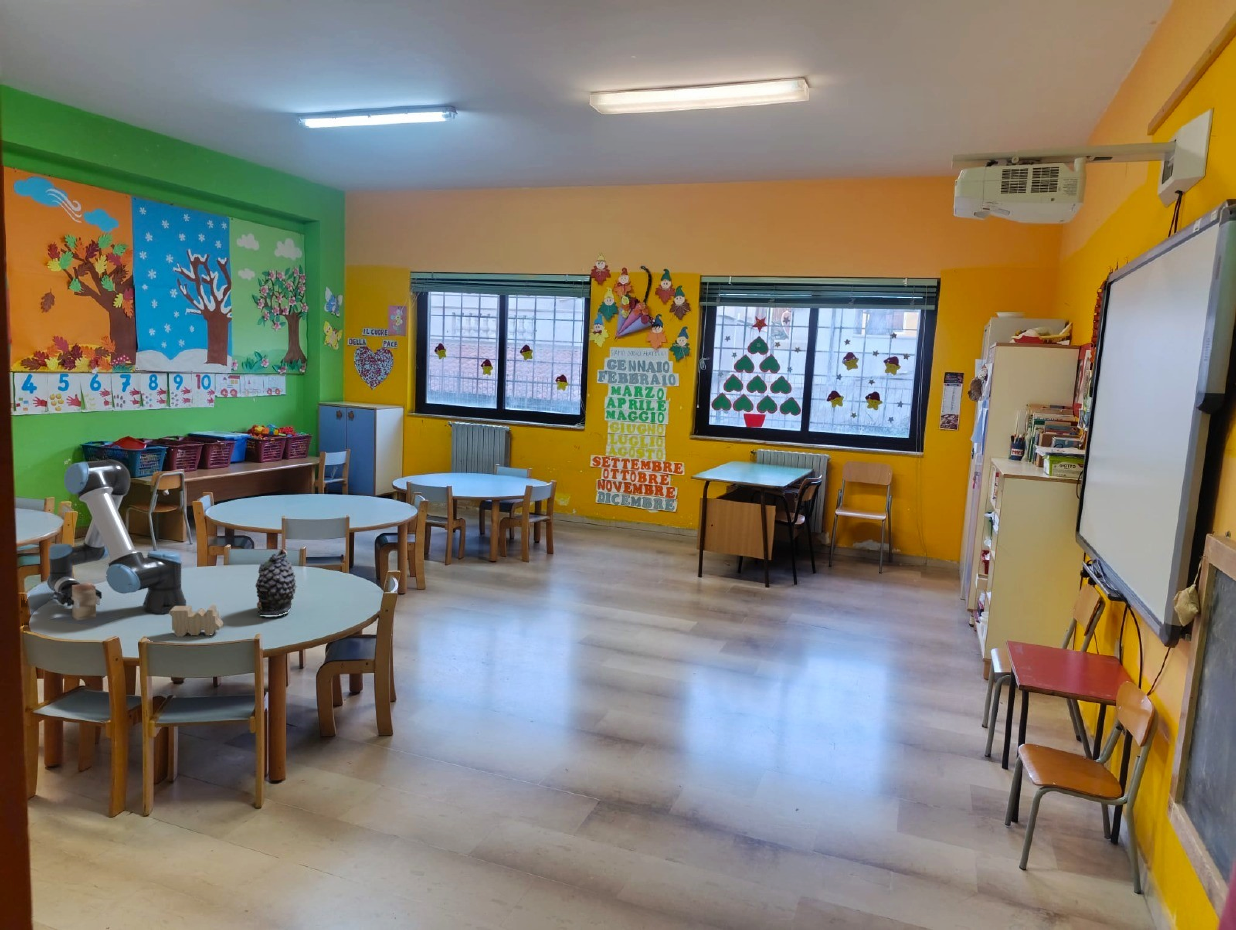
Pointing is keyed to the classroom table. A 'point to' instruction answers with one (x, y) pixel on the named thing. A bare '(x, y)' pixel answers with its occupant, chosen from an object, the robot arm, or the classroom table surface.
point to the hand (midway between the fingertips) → (88, 603)
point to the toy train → (195, 620)
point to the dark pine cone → (275, 585)
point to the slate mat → (96, 621)
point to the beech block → (84, 601)
